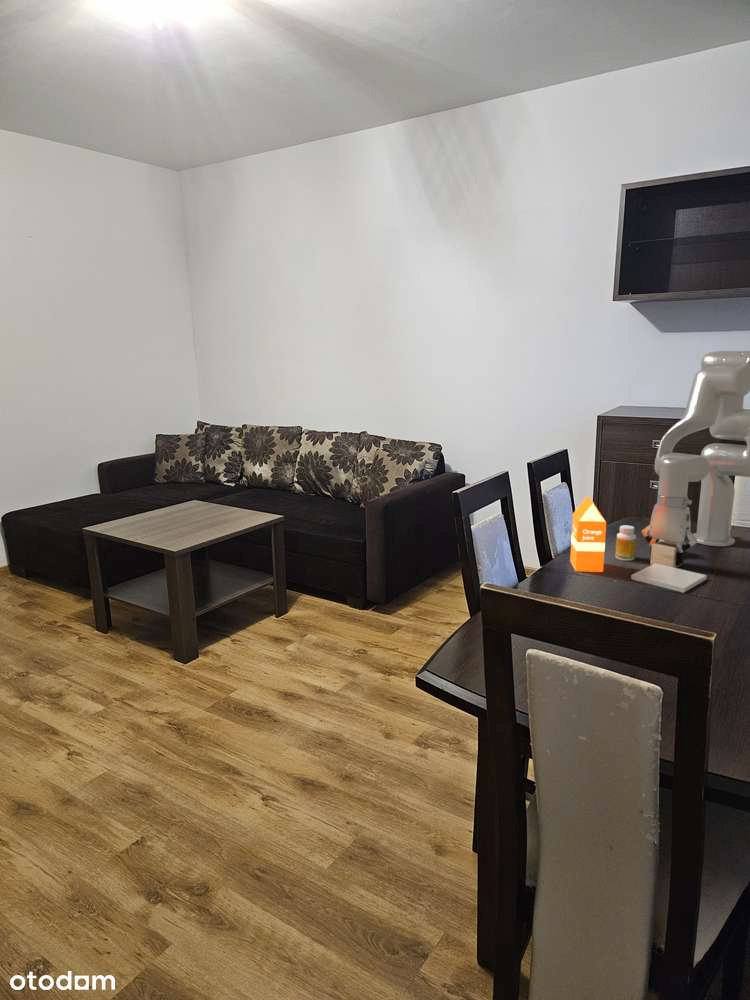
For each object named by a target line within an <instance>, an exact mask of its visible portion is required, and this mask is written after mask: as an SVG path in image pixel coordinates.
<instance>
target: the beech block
mask: <svg viewBox="0 0 750 1000" xmlns="http://www.w3.org/2000/svg"><path fill="white" fill-rule="evenodd" d="M650 549H651V556H650V561H649V562H650V564H649V566H651V565H653V564H655V563H656V564H660V565H664V566H669V567H673V568H678V567H681V566H683V563H682V564H681V565H679V566H676V565H675V563H676V553H677V552H678V548H677V545H676V543H674V542H669V541H664V540H661V541H659V542H657V543H654V544H652V548H651V547H650Z"/></svg>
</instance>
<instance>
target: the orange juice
mask: <svg viewBox="0 0 750 1000" xmlns="http://www.w3.org/2000/svg"><path fill="white" fill-rule="evenodd" d="M571 525H572V526H571V537H570V539H571V540H570V541H571V542H570V545H571V546H570V559H569V560H570V562H569V563H571V565H572V567H573V570H574V571H575V572H591V573H595V572H597V573H603V572H604V560H605V550H606V533H607V521H606V520H605V518H604V517H603V516H602V514H601V512H600V511H599V510H598V507H596V505H595V503H594V501H593V500H592V499H591V498H590V496H588V495H587V496H586V497H585V498H584V499H583V501H581V503H580V504H579V505H578V506H577V508H576V509H575V510H574V512H573V513H572V523H571Z"/></svg>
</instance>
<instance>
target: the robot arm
mask: <svg viewBox="0 0 750 1000" xmlns="http://www.w3.org/2000/svg"><path fill="white" fill-rule="evenodd" d="M700 365H701V369H700V370H699V371H696V373H695V375H694V377H693V382H692V385H691V388H690V391H689V394H688V399H687V402H686V405H685V406H686V407H685V411H684V415H683V417H682V418H681V419H680V420H678V421H677V422H676V423H675V424H673V425H672V426H671V427H670V428H669V429H667V431H666V432H665V434H664V435H663V436H662V438H661V440H660V442H659V444H658V448H657V451H656V456H655V459H654V471H655V474H656V475H658V477H659V478H658V488H657V498H656V499H657V501H656V502H655V504H654V506H653V509H652V512H651V517H650V521H649V525H648V526H646V527H645V528H643V529H642V530H641V531H640V533H641V534H642V536H643V537H644V538H645V540H646V541H647V543H648V544H649V546H650V552H649V555H650V556H649V557H651V548H652V544H654V543H657V542H659V540H660V539H661V540H666V541H671V542H676V545H677V548H678V552H677V553H676V563H675V565H676V566H678V567H680V566H682V565H683V564H684V562H685V553H686V551H688V550H689V549H690V548H692V547H693V546H694V545H696V544H701V545H704V546H710V547H711V546H712V547H730V546H733V545H734V544H735V542H736V540H735V538H733V537H731V530H732V517H733V512H734V511H733V509H734V500H735V499H734V498H735V492H736V488H735V485H734V482H733V481H732V479H731V478H730V476H735V477H741V478H743V477H744V478H750V408H749V409H745V408H744V398H745V396H746V395H748V393H750V350H720V351H712V352H708V353H706V354H704V355H703V357H702V358H701V363H700ZM708 428H709V433H710V435H711V436H712V437H713V438H715V439H719V440H729V441H730V440H731V441H739V442H746V445H742V444H733V443H724V442H723V443H719V442H718V443H717V442H715V443H709V444H707V445H706V446H704V448H703V449H702V450H701V452H700V455H699V454H698V455H697V454H690V453H689V454H688V453H680V452H673V451H674V447H675V446H676V444H678V443H679V441H681V439H683V438H684V437H686V436H688V435H691V434H693V433H696V432H698V431H703V430H705V429H708ZM700 481H701V482H700ZM690 482H691V483H692V482H700V483H701V485H700V492H699V493H700V495H699V505H698V514H697V523H696V524H697V525H696V532H694V533H693V532H691V530H692V529H691V527H692V525H691V511H690V507H689V506H690V505H692V503H693V501H692V500H691V499H689V498H688V497H689V496H688V488H689V483H690ZM684 540H685V541H688V540H689V542H688V543H686V542H685V541H684ZM681 564H682V565H681ZM679 565H680V566H679Z"/></svg>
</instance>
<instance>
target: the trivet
mask: <svg viewBox="0 0 750 1000" xmlns="http://www.w3.org/2000/svg"><path fill="white" fill-rule="evenodd" d="M707 577H708V575H706V574H703V573H699V572H694V571H690V570H685V569H682V568H678V567H676V568H673V567H669V566H664V565H660V564H656V563H655V564H653V565H649V566H647V567H644V568H642V569H641V570H639V571H637V572H635V573H633V574H631V577H630V579H631V580H634V581H636V582H641V583H645V584H648V585H652V586H656V587H660V588H665V589H667V590H673V591H676V592H679V593H683V594H684V593H686V592H687V591H690V590H691V589H692V588H695V587H696V586H698V585H699V584H701V583H702V582H704V581H706V580H707Z"/></svg>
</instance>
